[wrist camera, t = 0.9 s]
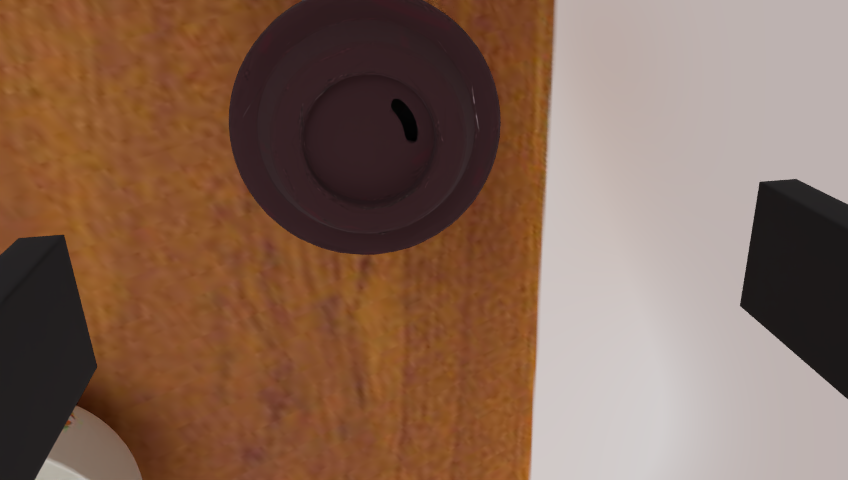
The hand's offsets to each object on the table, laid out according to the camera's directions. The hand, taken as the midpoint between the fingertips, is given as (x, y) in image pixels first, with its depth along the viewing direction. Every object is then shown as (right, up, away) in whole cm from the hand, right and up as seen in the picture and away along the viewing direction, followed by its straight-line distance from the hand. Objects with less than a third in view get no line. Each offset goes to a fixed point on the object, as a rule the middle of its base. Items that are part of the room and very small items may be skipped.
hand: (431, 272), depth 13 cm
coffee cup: (-4, +10, +25) cm, 27 cm away
